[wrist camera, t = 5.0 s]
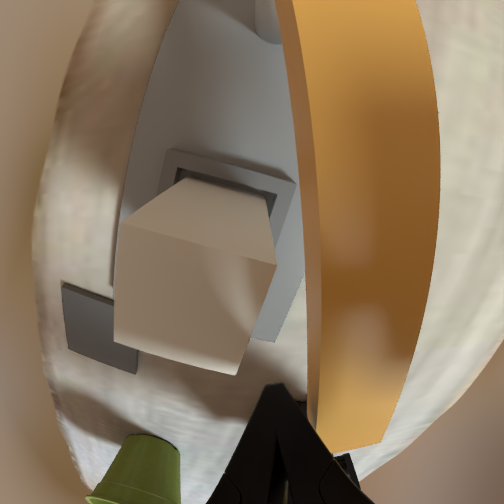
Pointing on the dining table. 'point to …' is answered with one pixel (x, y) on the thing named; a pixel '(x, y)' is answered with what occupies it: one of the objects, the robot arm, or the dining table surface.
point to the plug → (194, 274)
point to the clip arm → (362, 202)
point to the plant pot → (141, 474)
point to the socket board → (224, 127)
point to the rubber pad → (95, 329)
